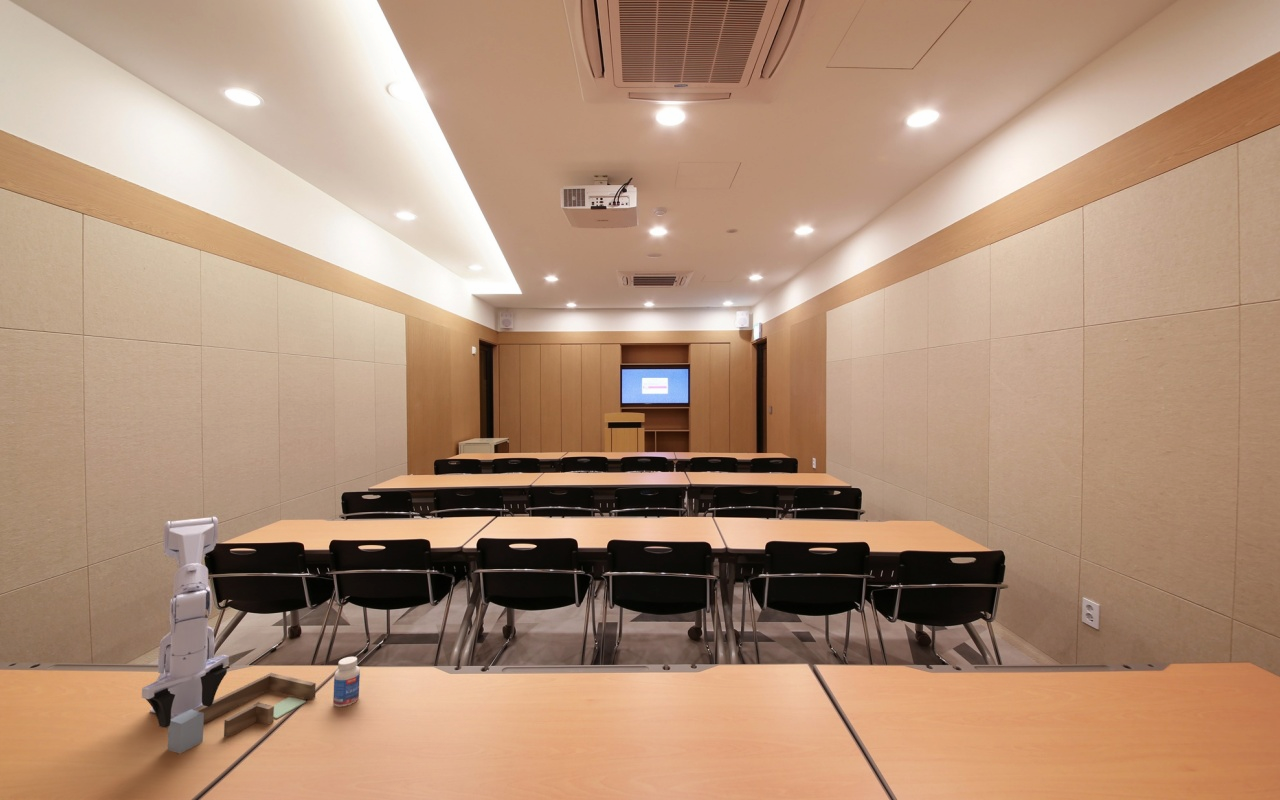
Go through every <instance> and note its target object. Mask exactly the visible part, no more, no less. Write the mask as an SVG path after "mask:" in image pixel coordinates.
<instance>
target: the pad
mask: <svg viewBox="0 0 1280 800" xmlns="http://www.w3.org/2000/svg"><path fill="white" fill-rule="evenodd" d="M306 703H307V701H306V700H305V699H304V700H303V699H301V698H296V697H293V696H292V697H291V696H288V697H287V698H284V699H282V700H281V701H280V702H278V703H275V704H273V706H274V719H275V720H278V719H280V718H282V717H283V716H285V715H286V714H288V713H290V712H292V711H293V710H296V709H297V708H299V707H300V706H302V705H303V704H306Z"/></svg>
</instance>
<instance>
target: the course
mask: <svg viewBox="0 0 1280 800" xmlns="http://www.w3.org/2000/svg"><path fill="white" fill-rule="evenodd" d="M316 685H317V684H316V682H312V681H308V680H305V679H299V678H295V677H290V676H285V675H283V674H278V673H273V672H270V673H268V674H266V675H264V676H262V677H260V678H258V679H257V678H256V679H255V680H253V681H251V682H249V683H248V684H245V685H243V686H241V687H239V688H237V689H234V690H233V691H231V692H228V693H227V694H225V695H223V696H220V697H219V698H216V699H214V701H213V703H212V705H211V706H209V707H208V706H202V707H200V708H198V709H196V710H195V711H199V712H203V713H204V723H203V725H204V724H206V723H208V722H210V721H212V720H214V719H216V718H218V717H220V716H222V715H224V714H226V713H228V712H230V711H231V710H233V709H235V708H237V707H240V706H241V705H243V704H245V703H247V702H248V701H251V700H252V699H254V698H256V697H259V696H261V695H262V694H264V693H266V692H269V691H272V692H275V693H280V694H283V695H288V696H292V697H295V698H296V697H297V698H299V699H304V700H309V701H312V700H314V699H315V698H316ZM274 719H275V718H274V705H270V704H268V703H263V702H259V701H258V702H255V703H253V704H251V705H250V706H248V707H247V708H244V709H243V710H240V711H238V712H237V713H235V714H233V715H231V716H229V717H227V718H225V719H224V721H223V724H224V725H223V726H224V727H223V729H224V730H223V737H225V738H230V737H231V736H233V735H235V734H237V733H238V732H240V731H242V730H243V729H246V728H247V727H249V726H251V725H253V724H255V723H258V724H263V725H267V726H269V725H270V724H272V723H274Z"/></svg>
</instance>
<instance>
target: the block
mask: <svg viewBox="0 0 1280 800" xmlns="http://www.w3.org/2000/svg"><path fill="white" fill-rule="evenodd" d="M203 723H204V713H203V712H199V711H195V710H192V709H191V710H189V711H187V712H185V713H183V714H181V715H178V716H176V717H174V718H171V722H170V726H168V727H167V728H168V729H167V730H168V731H167V733H168V734H167V750H168V751H170V752H173V753H178V754H182V753H184V752H186V751H189V750H190V749H192V748H193V747H195V746H197V745H199V744H201V743H202V742H203V741H204V739H203V738H204V724H203Z"/></svg>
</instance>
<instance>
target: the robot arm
mask: <svg viewBox="0 0 1280 800" xmlns="http://www.w3.org/2000/svg"><path fill="white" fill-rule="evenodd" d="M218 529H219V520H218V518H217V517H216V516H212V517H201V518H190V519H182V520H172V521H170V520H168V521H166V522H165V523H164V525H163V552H164V553H165V556H166V557H168V558H174V559H175V562H176V564H177V566H178V567H177V568H178V569H177V570H176V571H175V573H174V574H173V584H172V588H173V589H172V590H173V591H172V598H171V597H170V600H169V619H168V620H169V623H170V631H169V632H168V633H167V634H166V635H164V636H163V637H162V638H161V640H160V642H159V648H158V661H157V673H158V674H159V675H158V677H157V678H156V681H153V682H152V683H150V684H148V685H146V686H143V687H142V688H141V698H143V699H145V700H146V702H147V703H148V704H149V705H150V706H151V708H150V709H149V712H151V713H154V714H155V716H156V719H157V721H158V726H159V727H160V728H165V729H166V728H168V726H170V722H171V719H172V718H174V717H176V716H178V715H181V714H183V713H185V712H187V711H189V710H191V709H192V710H196V709H198V708H200V707H202V706H208V707H209V706H211V705H212V703H213V701H214V700H215V696H216V693H217V691H218V688H219V686H221V683H222V681H223V680H224V678H225V676H226V675H227V671H228V668H227V666H228V665H229V664H230V661H229V660H230V656H229V655H226V654H221V655H218V656H216V657H215V635H214V632H215V631H214V629H213V627H211V626H209V617H210V616H211V612H212V604H213V603H212V602H213V601H212V600H213V599H212V591H211V587H210V585H209V569H208V567H207V566H206V565H204V564H202V561H203V559H204V557H205V555H206V554H208V553H210V552H212V551H213V550H214V549H215V547H216V545H217V540H218V534H219V533H218ZM206 611H207V612H208V613H207V614H206Z"/></svg>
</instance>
